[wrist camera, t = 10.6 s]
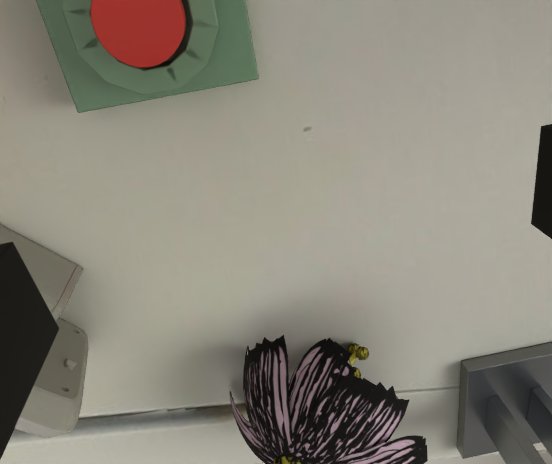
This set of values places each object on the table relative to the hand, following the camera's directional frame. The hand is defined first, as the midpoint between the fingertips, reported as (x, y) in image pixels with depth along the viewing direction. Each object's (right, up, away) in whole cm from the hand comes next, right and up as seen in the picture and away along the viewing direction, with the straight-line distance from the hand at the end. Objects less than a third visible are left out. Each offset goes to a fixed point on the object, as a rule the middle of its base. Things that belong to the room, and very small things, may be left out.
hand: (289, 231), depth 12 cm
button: (-7, +10, +10) cm, 16 cm away
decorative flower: (+2, -11, +27) cm, 29 cm away
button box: (-7, +12, +13) cm, 19 cm away
